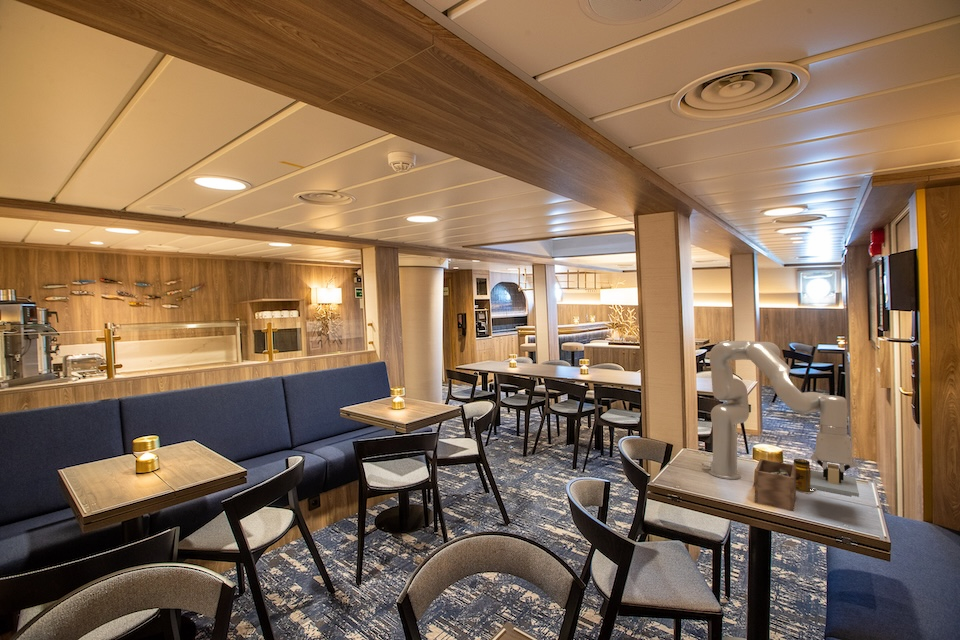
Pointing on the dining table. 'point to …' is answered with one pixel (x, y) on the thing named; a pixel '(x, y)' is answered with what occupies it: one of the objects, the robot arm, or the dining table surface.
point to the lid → (834, 482)
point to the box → (775, 485)
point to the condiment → (803, 476)
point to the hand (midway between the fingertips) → (833, 480)
